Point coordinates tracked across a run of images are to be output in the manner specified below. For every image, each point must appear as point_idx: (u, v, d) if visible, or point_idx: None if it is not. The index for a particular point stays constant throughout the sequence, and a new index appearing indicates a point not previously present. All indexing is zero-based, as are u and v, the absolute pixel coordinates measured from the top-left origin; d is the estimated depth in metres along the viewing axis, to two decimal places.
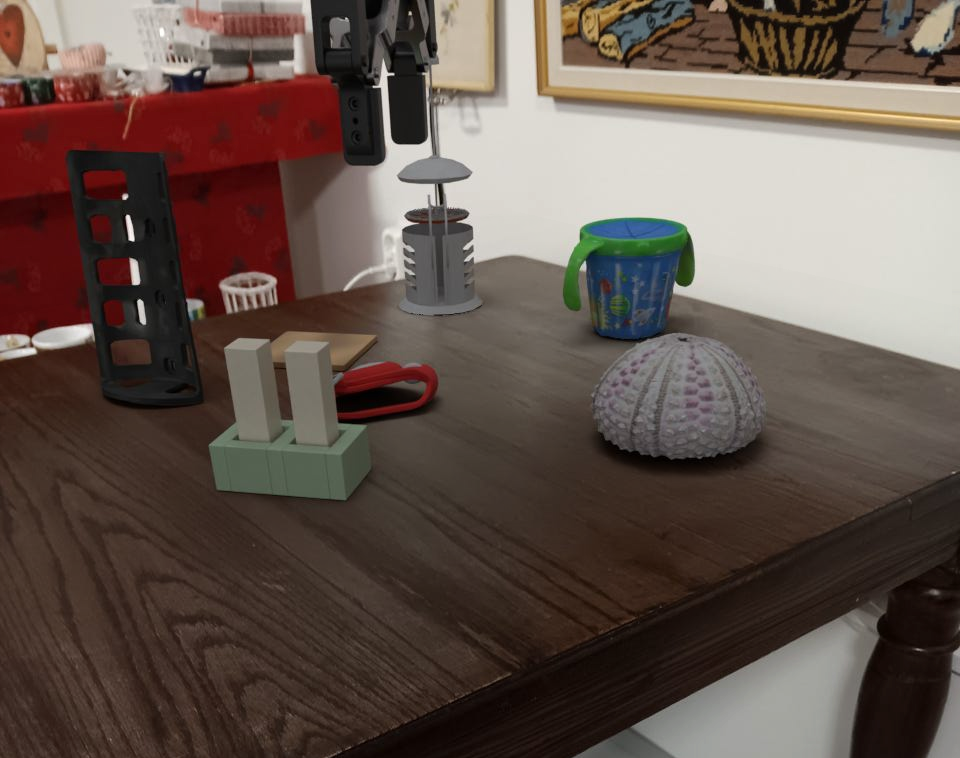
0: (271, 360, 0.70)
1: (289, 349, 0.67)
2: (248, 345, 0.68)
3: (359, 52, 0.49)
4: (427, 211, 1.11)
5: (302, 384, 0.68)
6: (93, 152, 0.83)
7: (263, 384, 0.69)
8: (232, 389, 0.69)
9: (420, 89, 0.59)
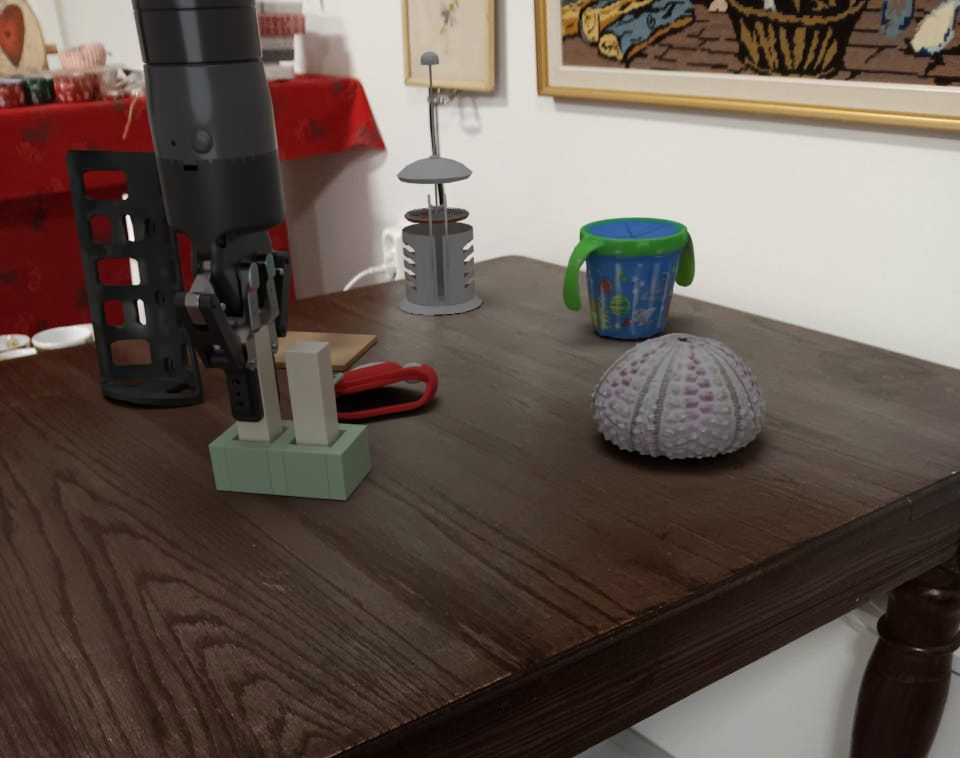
0: (269, 345, 0.69)
1: (289, 349, 0.67)
2: None
3: (235, 356, 0.64)
4: (427, 211, 1.11)
5: (302, 384, 0.68)
6: (93, 152, 0.83)
7: (261, 369, 0.68)
8: None
9: None
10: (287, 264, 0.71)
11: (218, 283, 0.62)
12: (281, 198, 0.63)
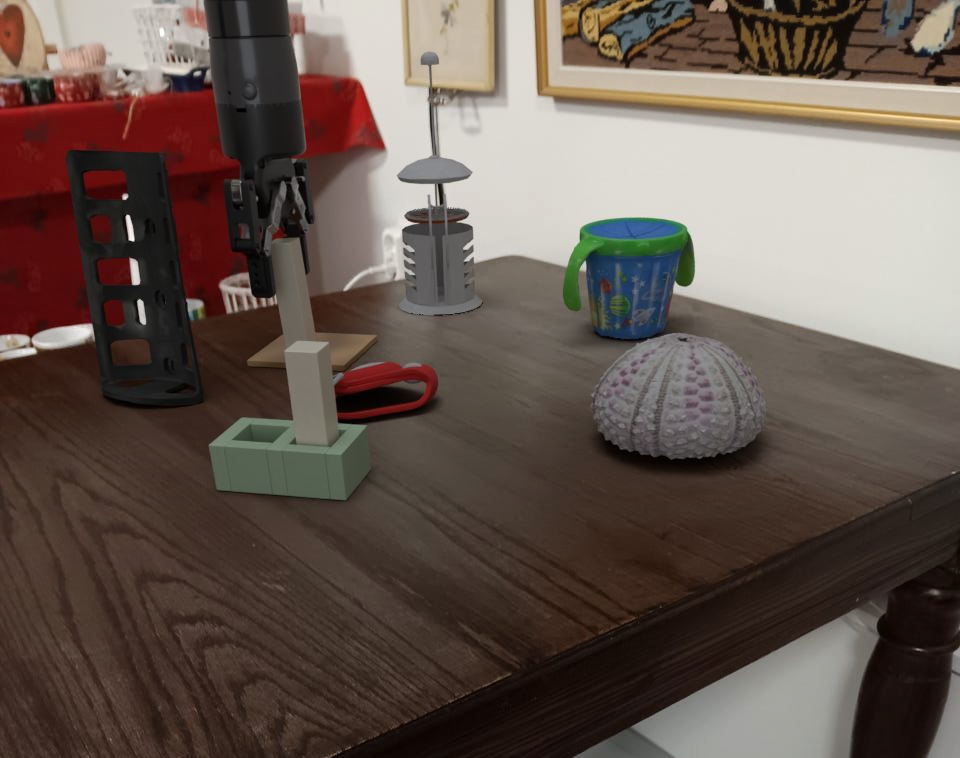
0: (300, 253, 0.95)
1: (289, 349, 0.67)
2: (283, 241, 0.93)
3: (254, 242, 0.87)
4: (427, 211, 1.11)
5: (302, 384, 0.68)
6: (93, 152, 0.83)
7: (296, 270, 0.94)
8: None
9: (302, 245, 0.98)
10: (305, 169, 0.96)
11: (258, 194, 0.88)
12: (303, 134, 0.89)
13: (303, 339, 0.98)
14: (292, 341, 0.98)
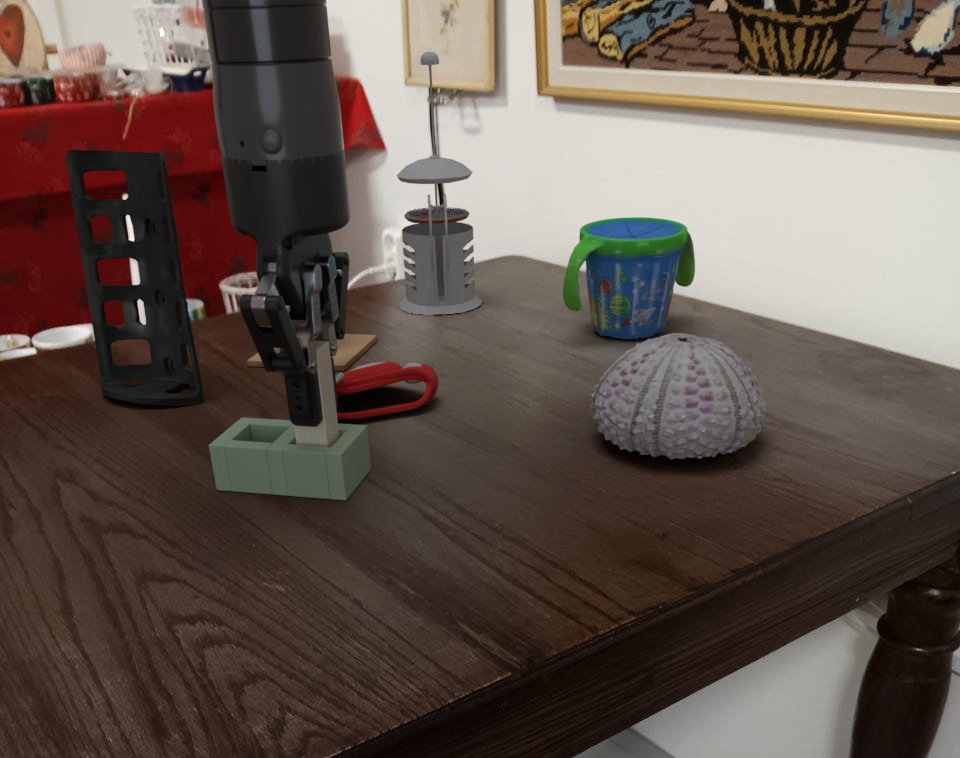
0: None
1: None
2: None
3: (297, 360, 0.63)
4: (427, 211, 1.11)
5: None
6: (93, 152, 0.83)
7: None
8: None
9: None
10: (345, 265, 0.70)
11: (283, 285, 0.61)
12: (346, 199, 0.62)
13: None
14: None
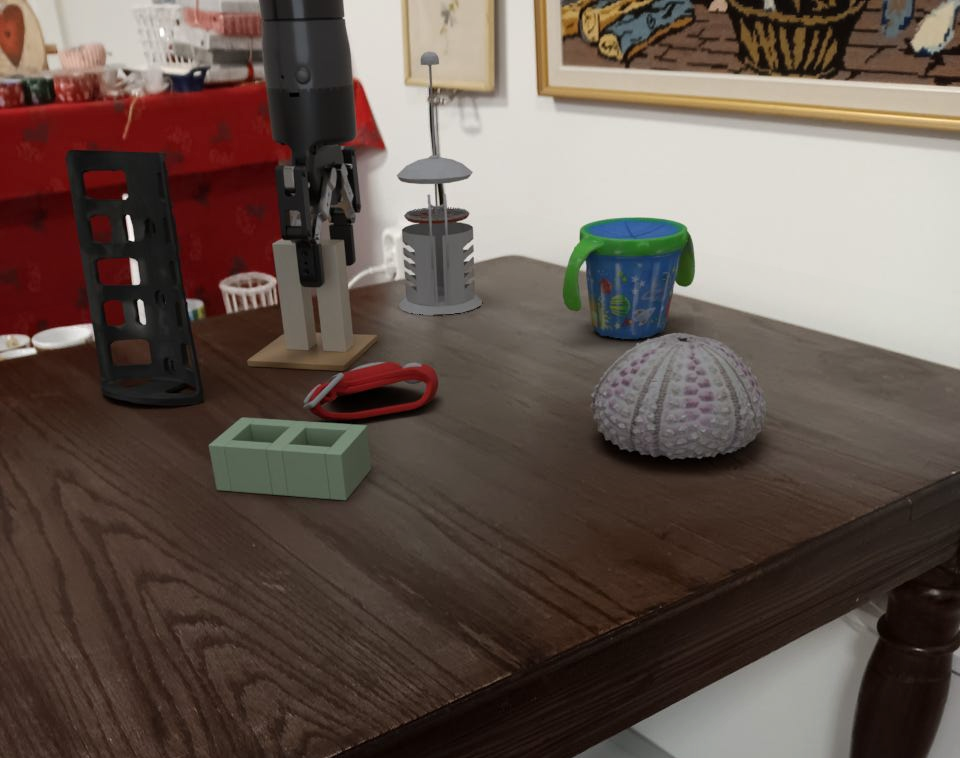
0: None
1: None
2: (289, 242, 0.93)
3: (306, 229, 0.86)
4: (427, 211, 1.11)
5: (324, 270, 0.93)
6: (93, 152, 0.83)
7: None
8: (277, 275, 0.95)
9: (349, 234, 0.96)
10: (353, 156, 0.94)
11: (309, 180, 0.87)
12: (355, 120, 0.87)
13: (304, 340, 0.98)
14: (292, 341, 0.98)
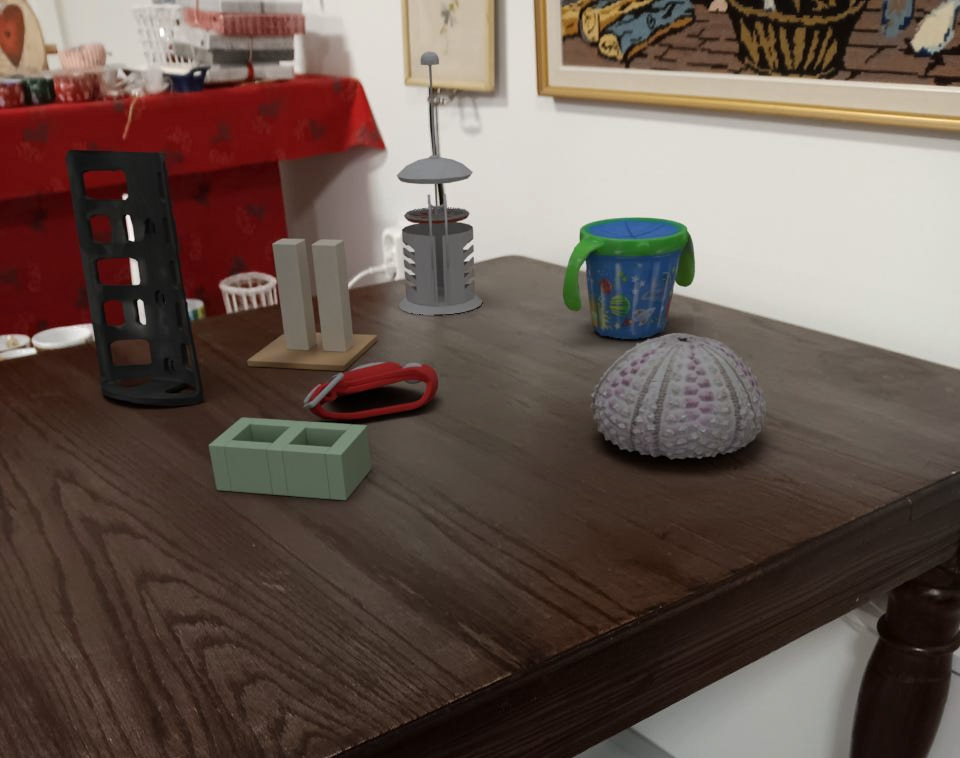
0: (305, 255, 0.95)
1: (315, 244, 0.92)
2: (289, 242, 0.93)
3: None
4: (427, 211, 1.11)
5: (324, 270, 0.93)
6: (93, 152, 0.83)
7: (300, 271, 0.94)
8: (277, 275, 0.95)
9: None
10: None
11: None
12: None
13: (304, 340, 0.98)
14: (292, 341, 0.98)
